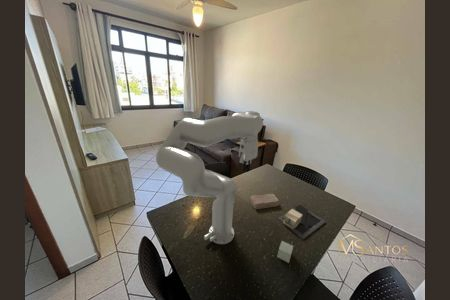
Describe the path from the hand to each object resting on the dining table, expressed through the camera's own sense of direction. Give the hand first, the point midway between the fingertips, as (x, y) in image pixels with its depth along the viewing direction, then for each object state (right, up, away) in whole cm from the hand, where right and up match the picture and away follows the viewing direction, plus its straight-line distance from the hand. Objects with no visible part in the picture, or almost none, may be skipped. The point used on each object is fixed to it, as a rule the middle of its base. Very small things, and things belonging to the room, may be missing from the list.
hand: (246, 170), depth 93 cm
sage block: (+15, -36, -15) cm, 42 cm away
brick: (+13, -23, +18) cm, 32 cm away
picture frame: (+31, -30, +5) cm, 43 cm away
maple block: (+22, -27, -2) cm, 35 cm away
